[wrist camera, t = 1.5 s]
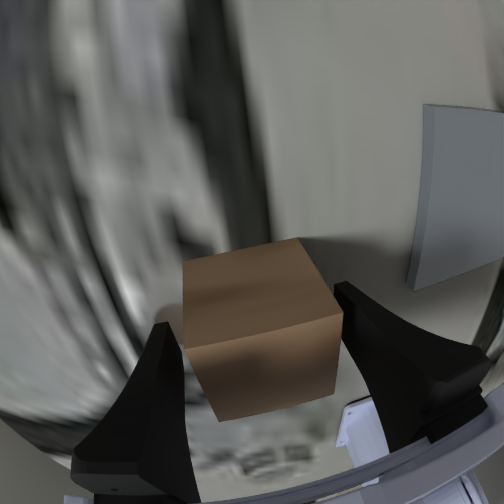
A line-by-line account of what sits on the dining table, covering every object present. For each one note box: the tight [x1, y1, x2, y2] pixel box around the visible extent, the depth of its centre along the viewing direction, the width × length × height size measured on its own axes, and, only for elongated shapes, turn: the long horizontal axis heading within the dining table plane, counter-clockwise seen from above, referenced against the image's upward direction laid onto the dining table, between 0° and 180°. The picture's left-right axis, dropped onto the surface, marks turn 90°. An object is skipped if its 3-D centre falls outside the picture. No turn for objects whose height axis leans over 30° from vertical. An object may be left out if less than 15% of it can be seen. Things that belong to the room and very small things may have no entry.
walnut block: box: [183, 238, 343, 422], centre depth 13 cm, size 5×5×5 cm
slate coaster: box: [406, 104, 504, 291], centre depth 14 cm, size 10×10×1 cm
